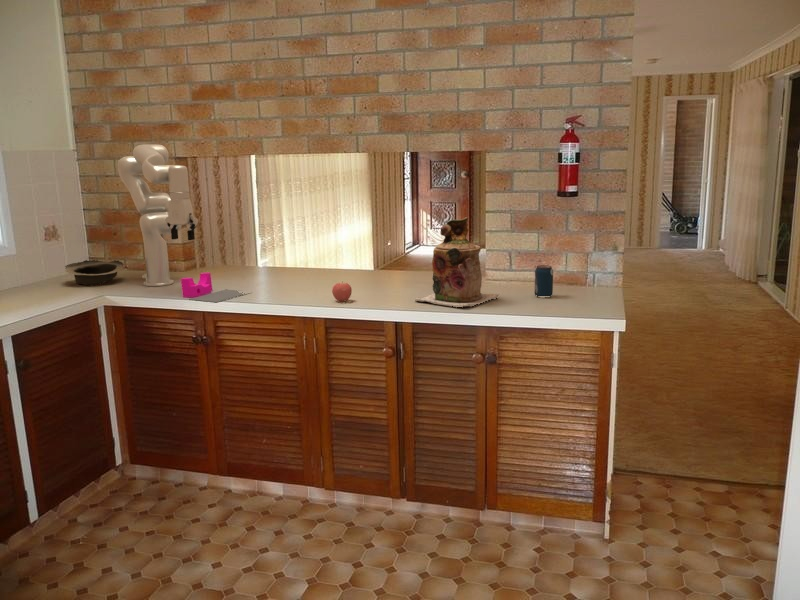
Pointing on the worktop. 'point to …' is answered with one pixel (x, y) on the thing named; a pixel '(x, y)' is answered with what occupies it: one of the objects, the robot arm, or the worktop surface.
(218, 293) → the mat
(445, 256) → the cookie jar
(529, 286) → the worktop surface
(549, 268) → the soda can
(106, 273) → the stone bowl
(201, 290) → the toy block
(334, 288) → the apple
